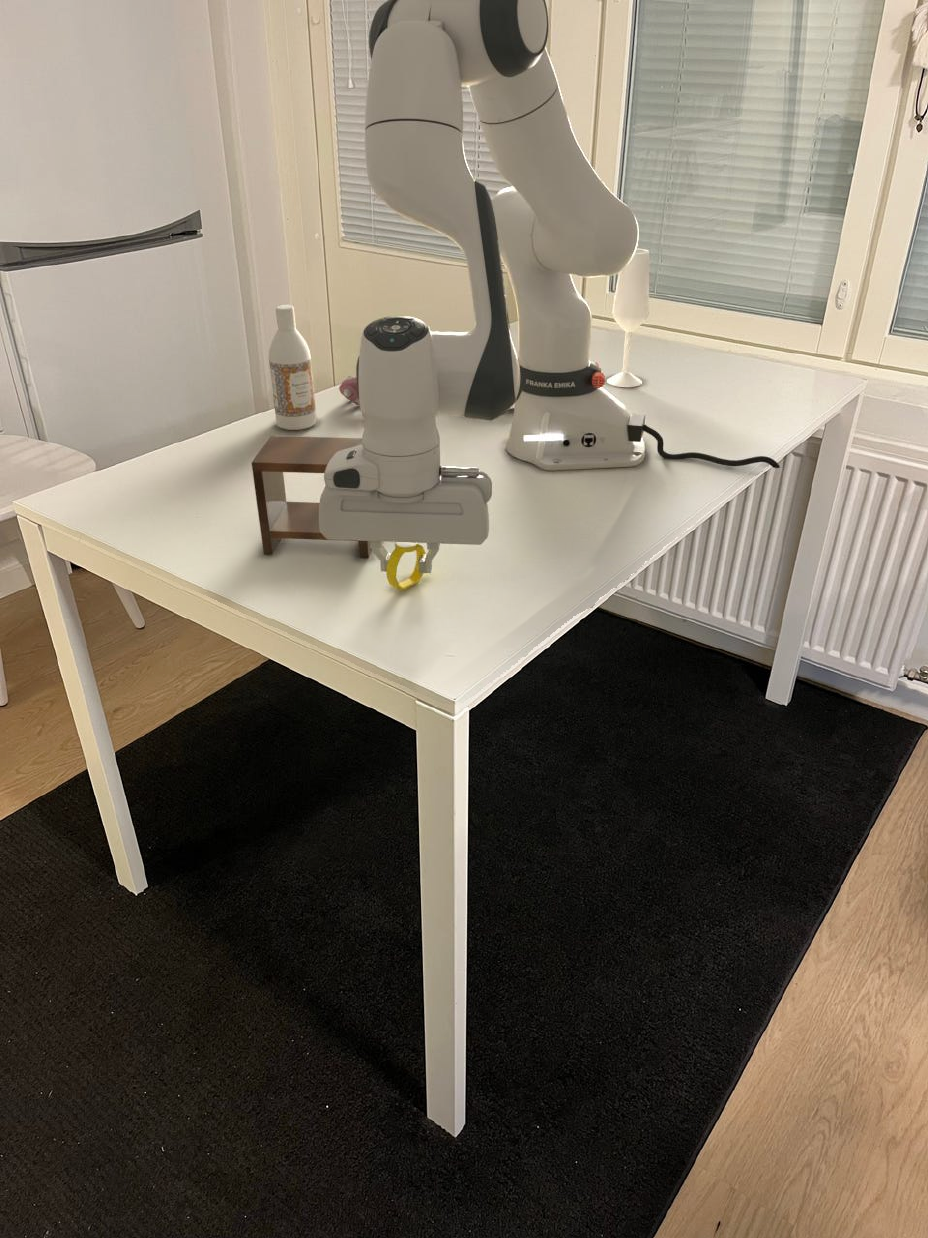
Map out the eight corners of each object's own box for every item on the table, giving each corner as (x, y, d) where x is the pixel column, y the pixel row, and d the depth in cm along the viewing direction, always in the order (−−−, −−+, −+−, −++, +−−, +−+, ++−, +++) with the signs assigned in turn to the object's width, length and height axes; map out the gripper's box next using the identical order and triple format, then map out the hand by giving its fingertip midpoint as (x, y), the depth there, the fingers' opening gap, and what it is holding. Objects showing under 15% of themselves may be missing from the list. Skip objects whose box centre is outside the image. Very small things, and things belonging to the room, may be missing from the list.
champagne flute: (611, 374, 188) (621, 246, 175) (645, 378, 186) (658, 248, 173) (603, 384, 182) (612, 253, 170) (637, 388, 180) (650, 255, 168)
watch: (399, 598, 115) (397, 555, 112) (382, 591, 117) (380, 548, 114) (431, 579, 119) (430, 536, 116) (414, 572, 121) (412, 530, 118)
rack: (379, 527, 132) (374, 438, 125) (368, 558, 124) (362, 465, 117) (280, 524, 133) (270, 435, 126) (263, 554, 125) (251, 462, 118)
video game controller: (343, 411, 175) (332, 383, 169) (353, 394, 177) (342, 365, 171) (392, 418, 172) (382, 390, 166) (401, 400, 174) (392, 371, 168)
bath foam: (286, 434, 162) (273, 314, 151) (270, 422, 167) (256, 305, 156) (323, 425, 165) (313, 308, 154) (306, 414, 170) (295, 299, 159)
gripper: (493, 457, 112) (492, 561, 119) (322, 452, 113) (331, 555, 121) (490, 479, 106) (489, 586, 114) (310, 473, 108) (320, 579, 115)
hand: (406, 570), depth 117 cm, fingers open, 3 cm apart
